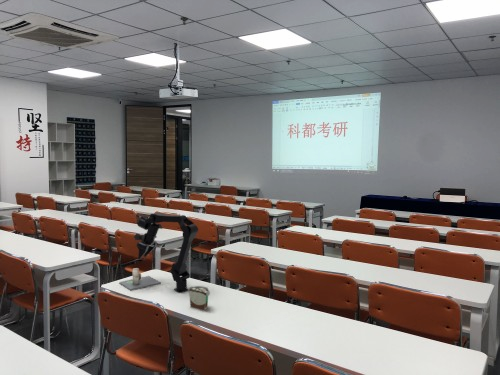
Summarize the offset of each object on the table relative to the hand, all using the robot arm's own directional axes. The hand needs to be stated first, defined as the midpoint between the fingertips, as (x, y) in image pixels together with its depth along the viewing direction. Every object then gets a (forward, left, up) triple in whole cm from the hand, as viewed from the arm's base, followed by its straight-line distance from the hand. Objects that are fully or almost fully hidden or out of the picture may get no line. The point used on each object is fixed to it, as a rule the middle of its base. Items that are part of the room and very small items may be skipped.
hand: (142, 257), depth 227 cm
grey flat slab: (+3, 0, -17) cm, 17 cm away
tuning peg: (+5, +1, -15) cm, 16 cm away
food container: (-50, -9, -17) cm, 53 cm away
